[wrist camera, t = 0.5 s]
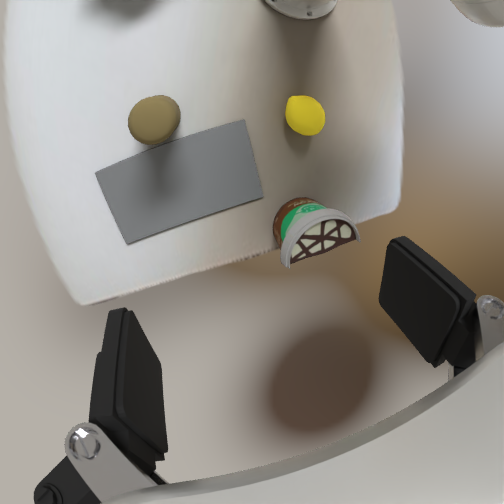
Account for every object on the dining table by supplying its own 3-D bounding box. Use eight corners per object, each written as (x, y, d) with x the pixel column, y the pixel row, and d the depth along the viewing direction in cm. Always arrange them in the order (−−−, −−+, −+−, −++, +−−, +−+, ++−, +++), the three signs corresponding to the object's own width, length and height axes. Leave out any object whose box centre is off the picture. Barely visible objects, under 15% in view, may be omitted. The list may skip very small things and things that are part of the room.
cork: (133, 136, 34) (117, 148, 25) (140, 93, 32) (126, 90, 22) (176, 140, 36) (176, 153, 27) (184, 97, 34) (186, 95, 24)
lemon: (320, 118, 40) (340, 125, 36) (295, 140, 41) (313, 149, 37) (295, 83, 35) (315, 86, 31) (268, 106, 36) (285, 111, 32)
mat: (95, 172, 35) (95, 173, 35) (243, 119, 37) (244, 119, 37) (127, 242, 42) (126, 244, 41) (262, 195, 43) (263, 196, 43)
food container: (327, 181, 45) (361, 203, 37) (332, 214, 48) (363, 241, 40) (256, 203, 44) (277, 231, 36) (265, 237, 47) (286, 270, 39)
